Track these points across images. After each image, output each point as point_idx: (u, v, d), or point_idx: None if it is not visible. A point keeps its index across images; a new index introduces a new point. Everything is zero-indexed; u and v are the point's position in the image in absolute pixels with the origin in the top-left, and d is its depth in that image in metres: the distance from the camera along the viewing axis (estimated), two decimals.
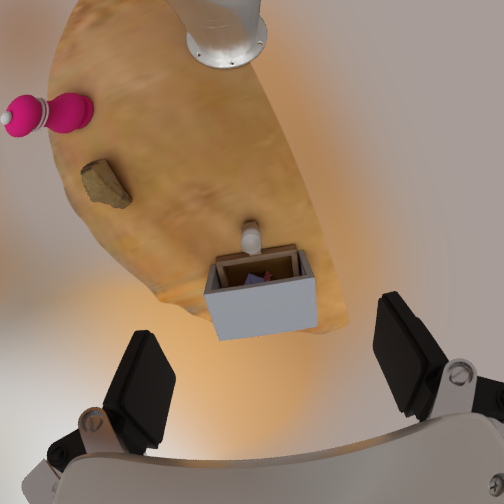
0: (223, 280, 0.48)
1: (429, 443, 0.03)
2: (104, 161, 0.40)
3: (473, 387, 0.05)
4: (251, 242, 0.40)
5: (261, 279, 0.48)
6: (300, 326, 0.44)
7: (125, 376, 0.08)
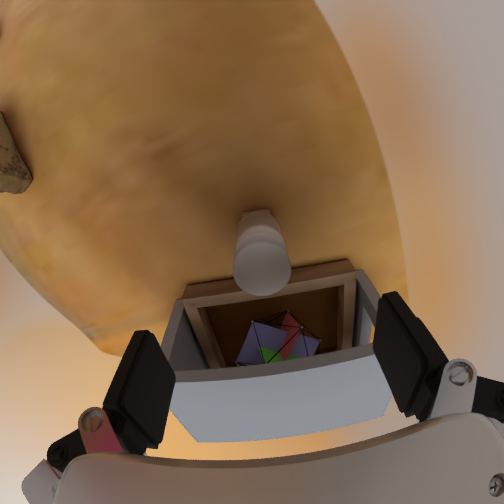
0: (200, 333, 0.23)
1: (429, 443, 0.03)
2: None
3: (473, 387, 0.05)
4: (262, 266, 0.14)
5: (279, 331, 0.23)
6: (354, 421, 0.19)
7: (125, 376, 0.08)
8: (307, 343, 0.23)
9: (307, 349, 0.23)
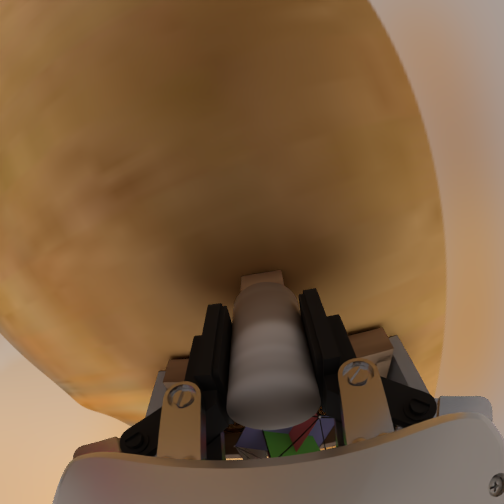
0: None
1: (429, 443, 0.03)
2: None
3: (379, 380, 0.06)
4: (275, 404, 0.07)
5: None
6: None
7: (212, 346, 0.09)
8: (322, 422, 0.16)
9: (322, 428, 0.16)
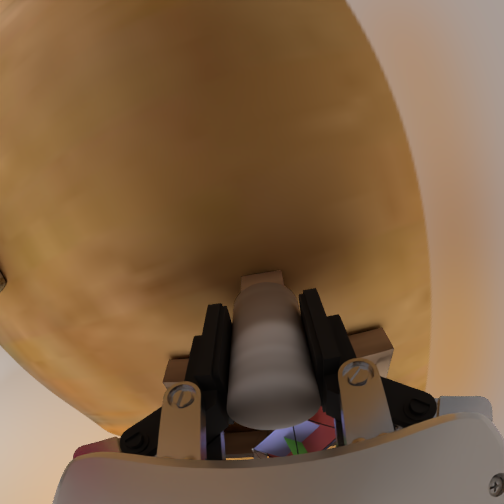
0: None
1: (429, 443, 0.03)
2: None
3: (379, 380, 0.06)
4: (275, 404, 0.07)
5: (311, 425, 0.17)
6: None
7: (212, 346, 0.09)
8: None
9: None
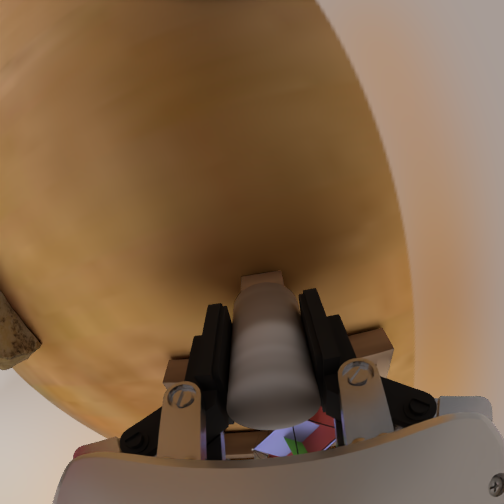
0: None
1: (429, 443, 0.03)
2: None
3: (379, 380, 0.06)
4: (275, 404, 0.07)
5: (311, 425, 0.17)
6: None
7: (212, 346, 0.09)
8: None
9: None
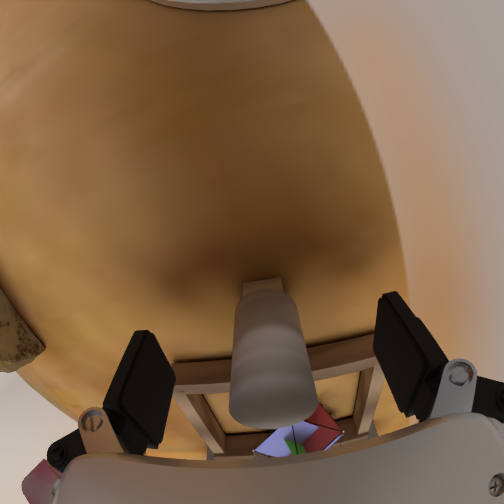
0: (192, 416, 0.16)
1: (429, 443, 0.03)
2: None
3: (473, 387, 0.05)
4: (275, 403, 0.08)
5: (310, 426, 0.17)
6: None
7: (125, 376, 0.08)
8: None
9: None
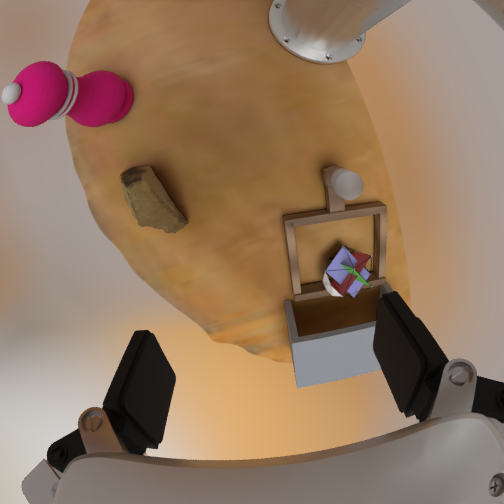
0: (292, 248, 0.35)
1: (429, 443, 0.03)
2: (149, 168, 0.32)
3: (473, 387, 0.05)
4: (350, 182, 0.26)
5: (353, 258, 0.36)
6: None
7: (125, 376, 0.08)
8: (363, 273, 0.36)
9: (362, 277, 0.36)
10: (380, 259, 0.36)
